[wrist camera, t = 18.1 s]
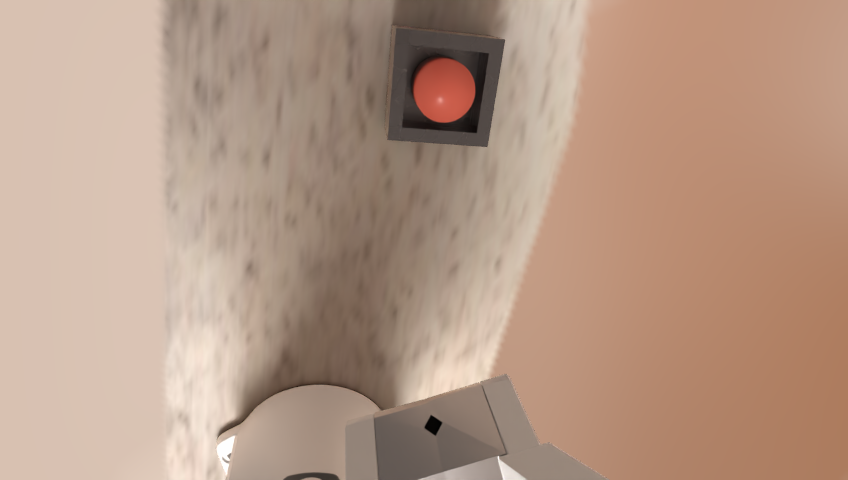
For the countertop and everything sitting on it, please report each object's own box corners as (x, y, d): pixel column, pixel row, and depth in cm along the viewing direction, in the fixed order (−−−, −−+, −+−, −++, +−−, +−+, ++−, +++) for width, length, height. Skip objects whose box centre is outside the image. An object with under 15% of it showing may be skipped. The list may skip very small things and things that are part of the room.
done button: (463, 116, 35) (470, 124, 33) (408, 112, 35) (411, 120, 33) (471, 58, 34) (479, 62, 31) (413, 52, 33) (418, 56, 31)
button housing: (476, 134, 37) (487, 146, 34) (384, 127, 36) (387, 139, 33) (491, 35, 34) (505, 39, 31) (391, 25, 33) (395, 27, 30)
